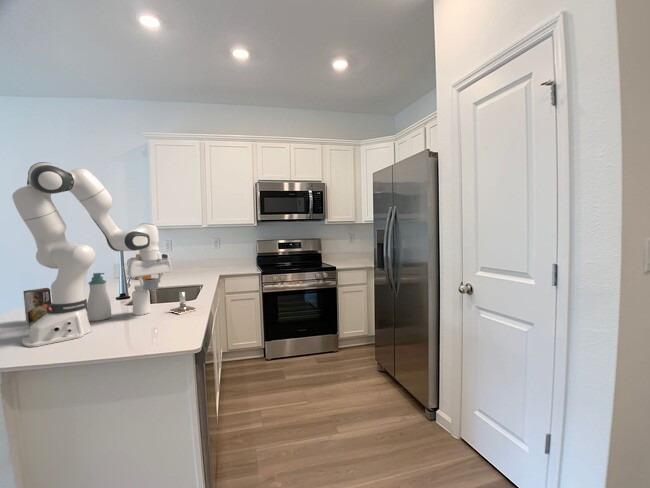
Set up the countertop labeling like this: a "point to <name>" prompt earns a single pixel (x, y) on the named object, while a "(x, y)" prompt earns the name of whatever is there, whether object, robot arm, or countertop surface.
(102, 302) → the soap bottle
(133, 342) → the countertop surface
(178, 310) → the shaft block
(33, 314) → the coffee box
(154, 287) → the hub
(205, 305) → the countertop surface
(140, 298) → the pill bottle
